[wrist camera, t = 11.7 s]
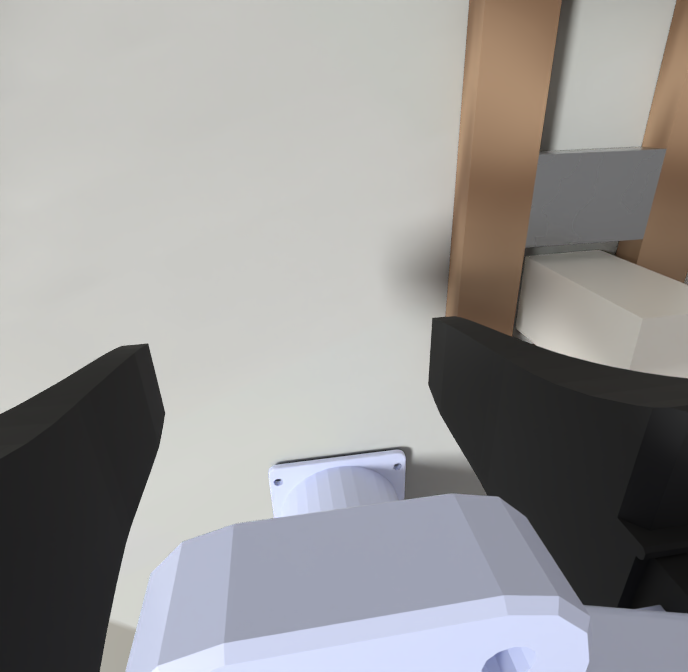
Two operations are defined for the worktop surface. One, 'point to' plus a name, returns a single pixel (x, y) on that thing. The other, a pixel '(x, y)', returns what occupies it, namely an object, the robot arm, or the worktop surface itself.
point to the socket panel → (555, 166)
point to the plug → (605, 312)
